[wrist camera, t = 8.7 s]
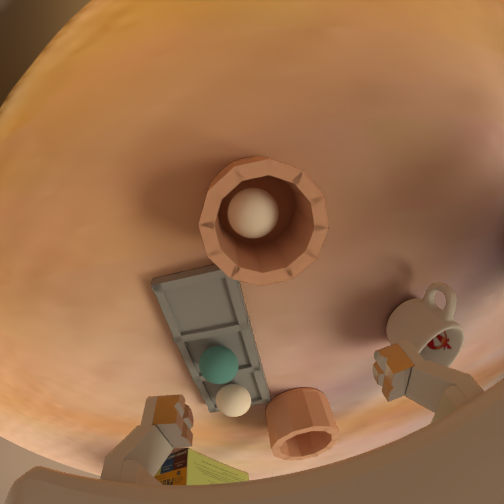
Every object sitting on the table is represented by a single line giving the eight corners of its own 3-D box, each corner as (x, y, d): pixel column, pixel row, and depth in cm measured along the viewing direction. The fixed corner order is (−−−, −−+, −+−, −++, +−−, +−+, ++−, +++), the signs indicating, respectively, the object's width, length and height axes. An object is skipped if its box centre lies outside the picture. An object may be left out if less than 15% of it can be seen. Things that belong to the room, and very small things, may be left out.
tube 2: (325, 380, 34) (340, 418, 28) (327, 415, 37) (339, 449, 31) (260, 396, 34) (266, 436, 28) (270, 429, 37) (277, 464, 31)
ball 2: (245, 374, 31) (248, 399, 27) (252, 395, 32) (255, 420, 28) (211, 380, 31) (211, 406, 27) (221, 400, 32) (221, 425, 28)
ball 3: (275, 180, 23) (270, 188, 20) (284, 226, 25) (280, 242, 21) (229, 188, 24) (216, 198, 21) (239, 232, 26) (228, 249, 22)
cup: (398, 265, 29) (441, 300, 21) (444, 270, 30) (485, 300, 22) (369, 344, 32) (396, 388, 25) (415, 342, 33) (444, 378, 26)
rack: (153, 278, 27) (149, 285, 25) (233, 260, 27) (234, 266, 25) (209, 404, 34) (209, 412, 32) (269, 393, 34) (271, 401, 32)
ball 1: (232, 334, 28) (234, 360, 25) (241, 362, 30) (243, 388, 26) (194, 341, 28) (192, 367, 25) (206, 368, 30) (205, 394, 26)
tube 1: (294, 148, 24) (317, 149, 17) (309, 240, 27) (333, 269, 21) (195, 169, 24) (185, 177, 17) (219, 261, 27) (218, 296, 20)
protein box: (187, 446, 38) (184, 528, 23) (249, 473, 43) (257, 540, 28) (150, 460, 39) (142, 530, 25) (211, 485, 44) (213, 546, 30)
